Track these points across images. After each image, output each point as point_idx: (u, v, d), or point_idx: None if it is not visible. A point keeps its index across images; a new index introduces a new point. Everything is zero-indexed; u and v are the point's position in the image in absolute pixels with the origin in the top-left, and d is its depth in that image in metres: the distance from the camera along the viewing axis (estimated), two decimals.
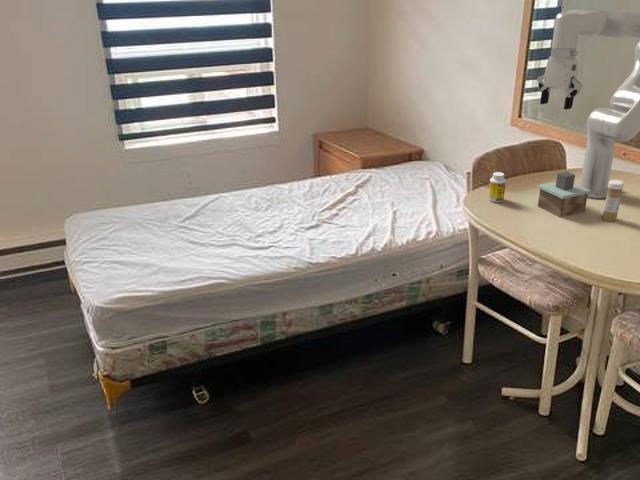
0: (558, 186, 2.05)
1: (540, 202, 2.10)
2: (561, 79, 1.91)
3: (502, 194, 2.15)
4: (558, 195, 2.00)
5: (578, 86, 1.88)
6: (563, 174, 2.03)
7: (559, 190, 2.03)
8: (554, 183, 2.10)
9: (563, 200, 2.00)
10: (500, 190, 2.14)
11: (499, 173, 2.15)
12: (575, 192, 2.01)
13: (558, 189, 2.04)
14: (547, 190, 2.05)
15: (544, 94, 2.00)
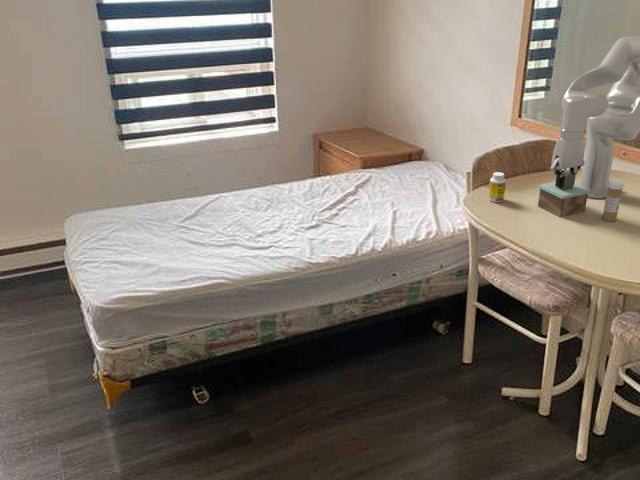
0: None
1: (540, 202, 2.10)
2: (579, 157, 2.00)
3: (502, 194, 2.15)
4: (558, 195, 2.00)
5: (583, 164, 2.04)
6: None
7: (559, 190, 2.03)
8: (554, 183, 2.10)
9: (563, 200, 2.00)
10: (500, 190, 2.14)
11: (499, 173, 2.15)
12: (575, 192, 2.01)
13: (558, 189, 2.04)
14: (547, 190, 2.05)
15: None
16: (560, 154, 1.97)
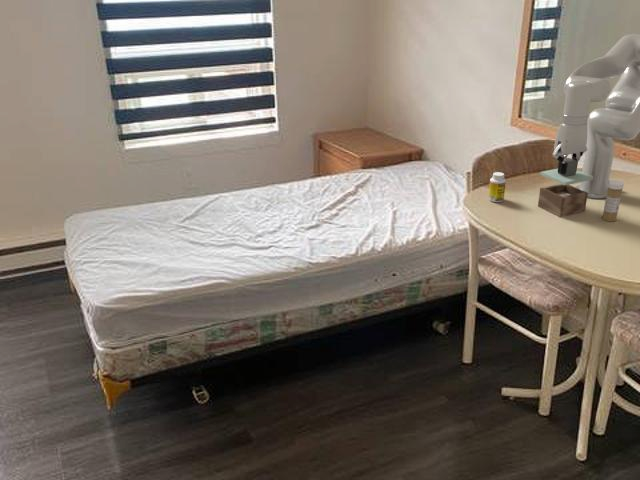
0: (560, 173, 2.03)
1: (540, 202, 2.10)
2: (582, 142, 1.97)
3: (502, 194, 2.15)
4: (560, 181, 1.98)
5: (585, 150, 2.02)
6: None
7: (561, 176, 2.01)
8: (556, 170, 2.08)
9: (563, 200, 2.00)
10: (500, 190, 2.14)
11: (499, 173, 2.15)
12: (578, 178, 1.99)
13: (560, 176, 2.02)
14: (549, 177, 2.03)
15: None
16: (562, 140, 1.95)
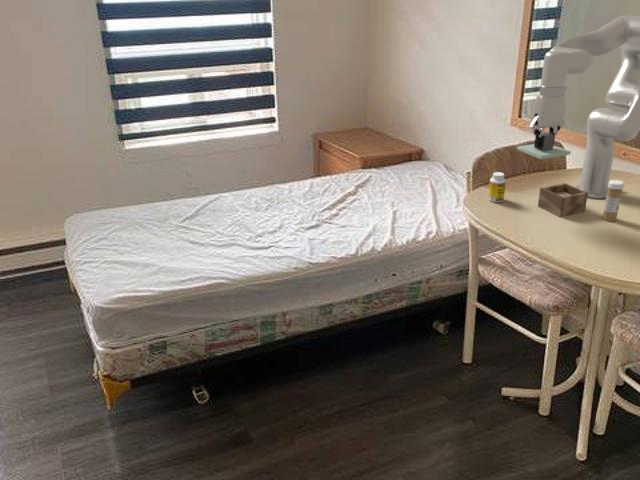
0: None
1: (540, 202, 2.10)
2: (559, 115, 1.91)
3: (502, 194, 2.15)
4: (537, 155, 1.92)
5: (563, 124, 1.95)
6: None
7: (538, 151, 1.95)
8: (533, 145, 2.01)
9: (563, 200, 2.00)
10: (500, 190, 2.14)
11: (499, 173, 2.15)
12: (555, 153, 1.93)
13: (537, 150, 1.96)
14: (526, 151, 1.96)
15: None
16: (539, 112, 1.89)
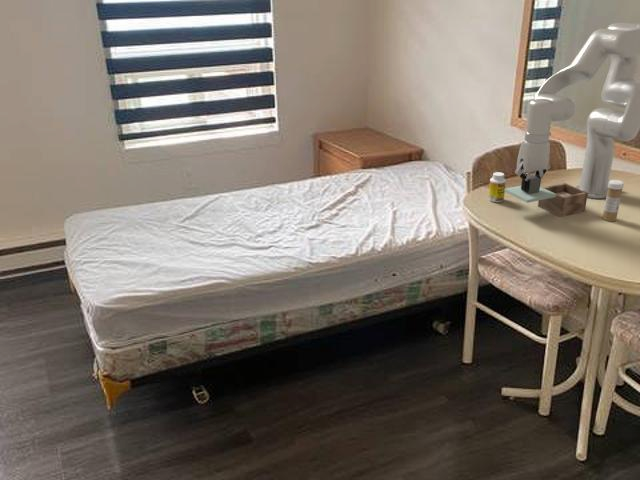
0: None
1: (540, 202, 2.10)
2: (544, 160, 1.97)
3: (502, 194, 2.15)
4: (523, 199, 1.98)
5: (548, 167, 2.01)
6: None
7: (524, 194, 2.01)
8: (520, 187, 2.07)
9: (563, 200, 2.00)
10: (500, 190, 2.14)
11: (499, 173, 2.15)
12: (540, 196, 1.99)
13: (524, 193, 2.02)
14: (513, 194, 2.02)
15: None
16: (524, 157, 1.95)
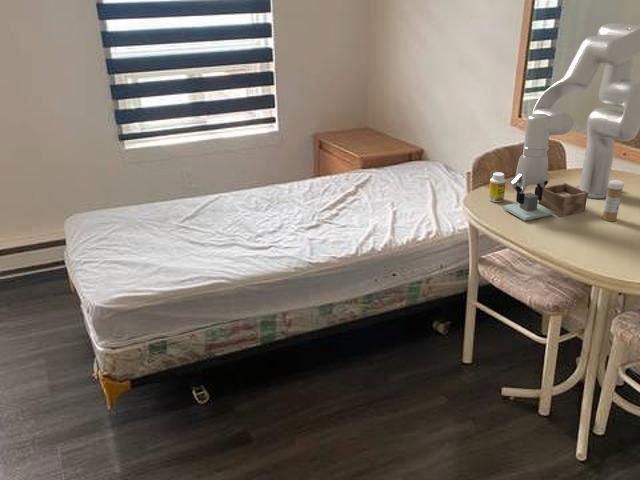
0: (522, 207, 2.06)
1: (540, 202, 2.10)
2: (543, 174, 1.99)
3: (502, 194, 2.15)
4: (521, 216, 2.01)
5: (549, 177, 2.03)
6: (526, 196, 2.03)
7: (522, 211, 2.04)
8: (519, 204, 2.10)
9: (563, 200, 2.00)
10: (500, 190, 2.14)
11: (499, 173, 2.15)
12: (538, 213, 2.02)
13: (522, 210, 2.05)
14: (511, 211, 2.05)
15: None
16: (523, 171, 1.97)
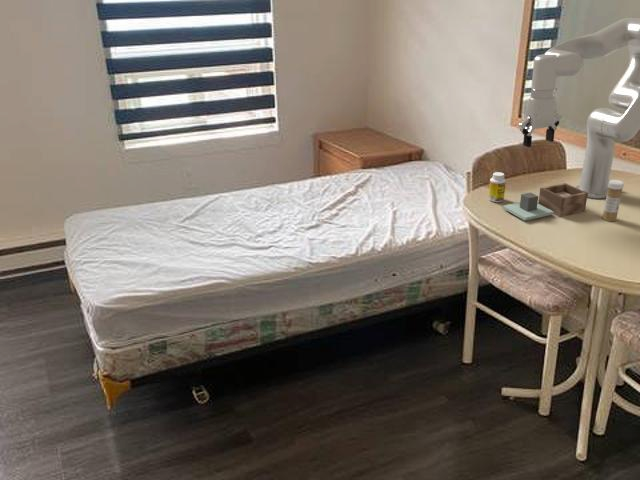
0: (522, 207, 2.06)
1: (540, 202, 2.10)
2: (551, 116, 1.97)
3: (502, 194, 2.15)
4: (521, 216, 2.01)
5: (560, 117, 2.01)
6: (526, 196, 2.03)
7: (522, 211, 2.04)
8: (519, 204, 2.10)
9: (563, 200, 2.00)
10: (500, 190, 2.14)
11: (499, 173, 2.15)
12: (538, 213, 2.02)
13: (522, 210, 2.05)
14: (511, 211, 2.05)
15: None
16: (532, 114, 1.95)
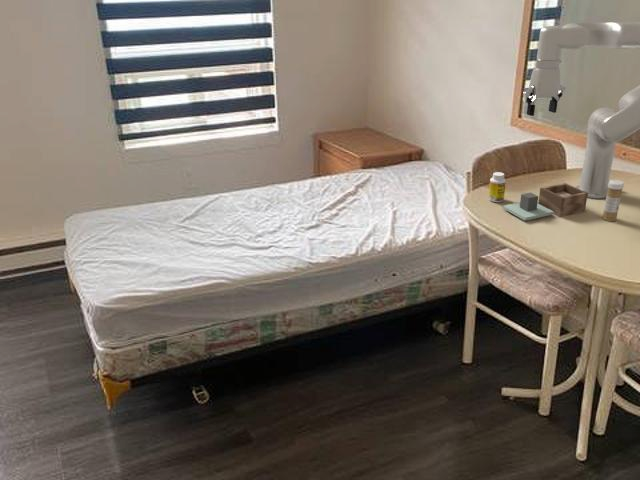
0: (522, 207, 2.06)
1: (540, 202, 2.10)
2: (555, 87, 2.05)
3: (502, 194, 2.15)
4: (521, 216, 2.01)
5: (563, 89, 2.09)
6: (526, 196, 2.03)
7: (522, 211, 2.04)
8: (519, 204, 2.10)
9: (563, 200, 2.00)
10: (500, 190, 2.14)
11: (499, 173, 2.15)
12: (538, 213, 2.02)
13: (522, 210, 2.05)
14: (511, 211, 2.05)
15: None
16: (536, 83, 2.03)
